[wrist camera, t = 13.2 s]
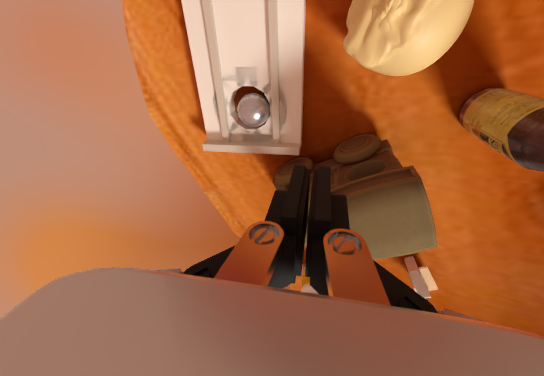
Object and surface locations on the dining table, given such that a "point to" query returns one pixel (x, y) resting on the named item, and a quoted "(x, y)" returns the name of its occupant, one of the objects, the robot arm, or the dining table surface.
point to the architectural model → (420, 278)
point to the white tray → (249, 70)
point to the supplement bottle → (307, 284)
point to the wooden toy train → (375, 196)
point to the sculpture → (403, 32)
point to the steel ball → (253, 109)
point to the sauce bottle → (508, 124)
